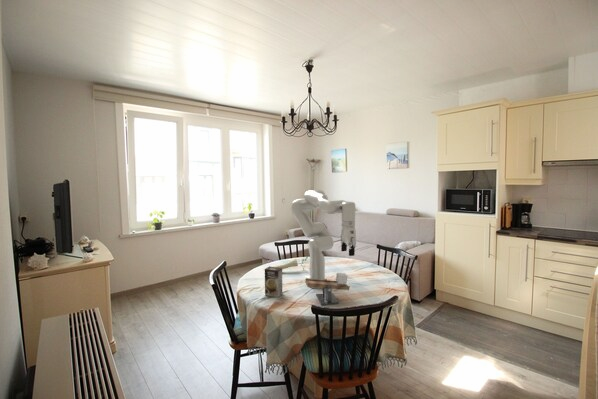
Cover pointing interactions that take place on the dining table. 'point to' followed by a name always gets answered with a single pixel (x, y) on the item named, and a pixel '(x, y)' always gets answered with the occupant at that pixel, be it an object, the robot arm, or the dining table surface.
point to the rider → (341, 279)
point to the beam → (324, 284)
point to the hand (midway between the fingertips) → (347, 253)
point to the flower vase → (291, 264)
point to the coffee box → (273, 281)
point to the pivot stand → (327, 296)
